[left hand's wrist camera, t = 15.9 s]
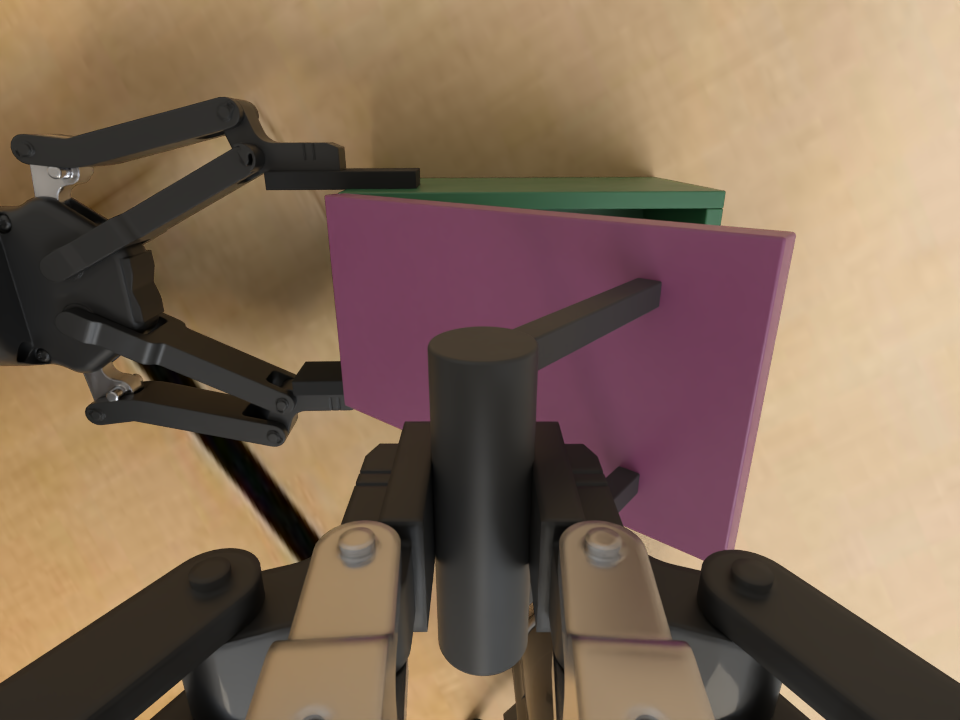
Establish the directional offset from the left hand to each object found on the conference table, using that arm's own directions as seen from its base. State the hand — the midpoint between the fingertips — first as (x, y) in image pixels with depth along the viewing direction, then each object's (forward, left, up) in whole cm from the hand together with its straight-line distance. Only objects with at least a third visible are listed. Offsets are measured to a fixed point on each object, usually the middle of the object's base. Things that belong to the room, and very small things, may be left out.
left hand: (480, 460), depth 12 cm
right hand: (-2, +2, -17) cm, 17 cm away
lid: (+1, -1, -8) cm, 8 cm away
